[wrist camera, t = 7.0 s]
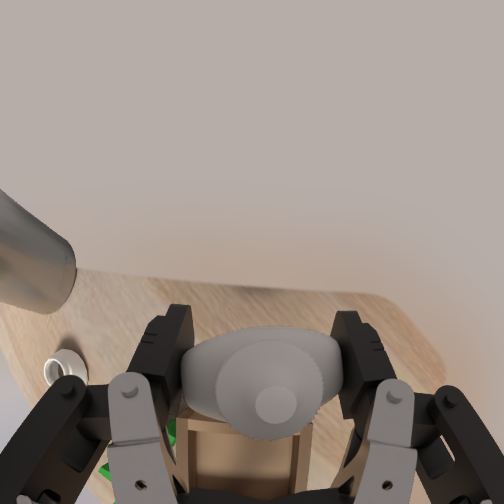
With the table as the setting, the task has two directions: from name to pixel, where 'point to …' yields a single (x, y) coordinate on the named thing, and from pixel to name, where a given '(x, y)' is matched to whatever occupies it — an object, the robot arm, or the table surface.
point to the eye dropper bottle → (263, 379)
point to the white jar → (65, 366)
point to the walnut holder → (240, 458)
